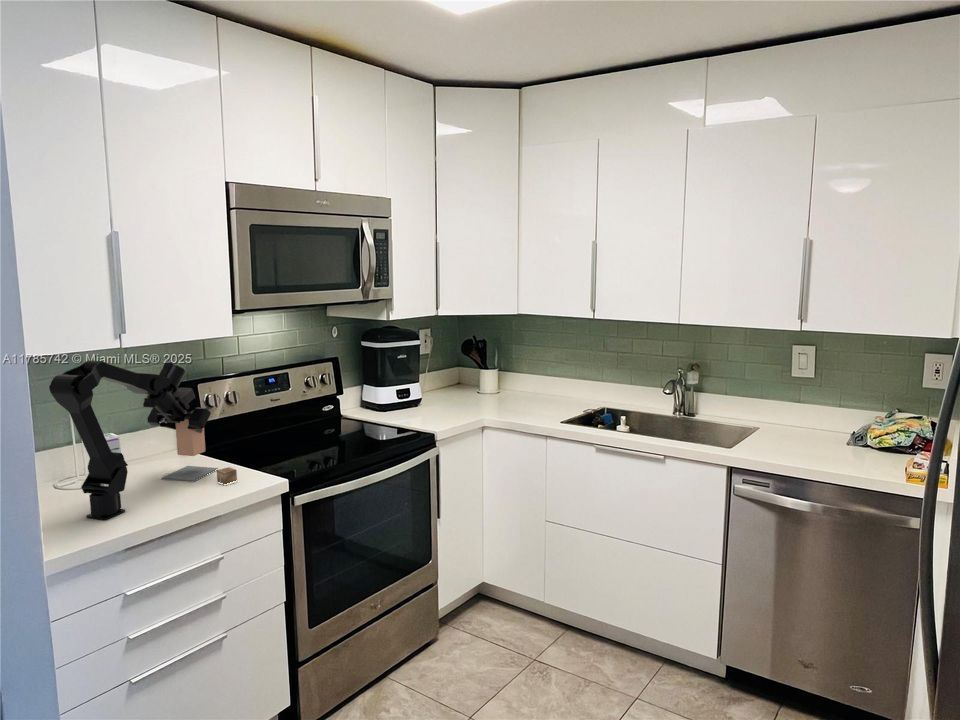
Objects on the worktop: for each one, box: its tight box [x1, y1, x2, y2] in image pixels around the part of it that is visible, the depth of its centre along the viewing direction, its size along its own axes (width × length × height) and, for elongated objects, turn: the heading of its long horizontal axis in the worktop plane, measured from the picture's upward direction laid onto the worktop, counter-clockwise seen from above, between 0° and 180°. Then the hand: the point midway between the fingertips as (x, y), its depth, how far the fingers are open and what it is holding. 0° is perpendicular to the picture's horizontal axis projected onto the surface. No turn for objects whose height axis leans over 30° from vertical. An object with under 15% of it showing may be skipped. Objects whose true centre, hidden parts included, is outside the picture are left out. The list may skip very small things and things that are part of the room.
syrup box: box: [100, 432, 122, 486], centre depth 198 cm, size 6×6×14 cm
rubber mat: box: [161, 465, 219, 482], centre depth 207 cm, size 12×11×1 cm
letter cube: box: [216, 466, 238, 484], centre depth 199 cm, size 4×4×4 cm
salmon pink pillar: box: [175, 419, 206, 457], centre depth 204 cm, size 6×6×12 cm
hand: (193, 431), depth 206 cm, fingers closed on salmon pink pillar, 6 cm apart
